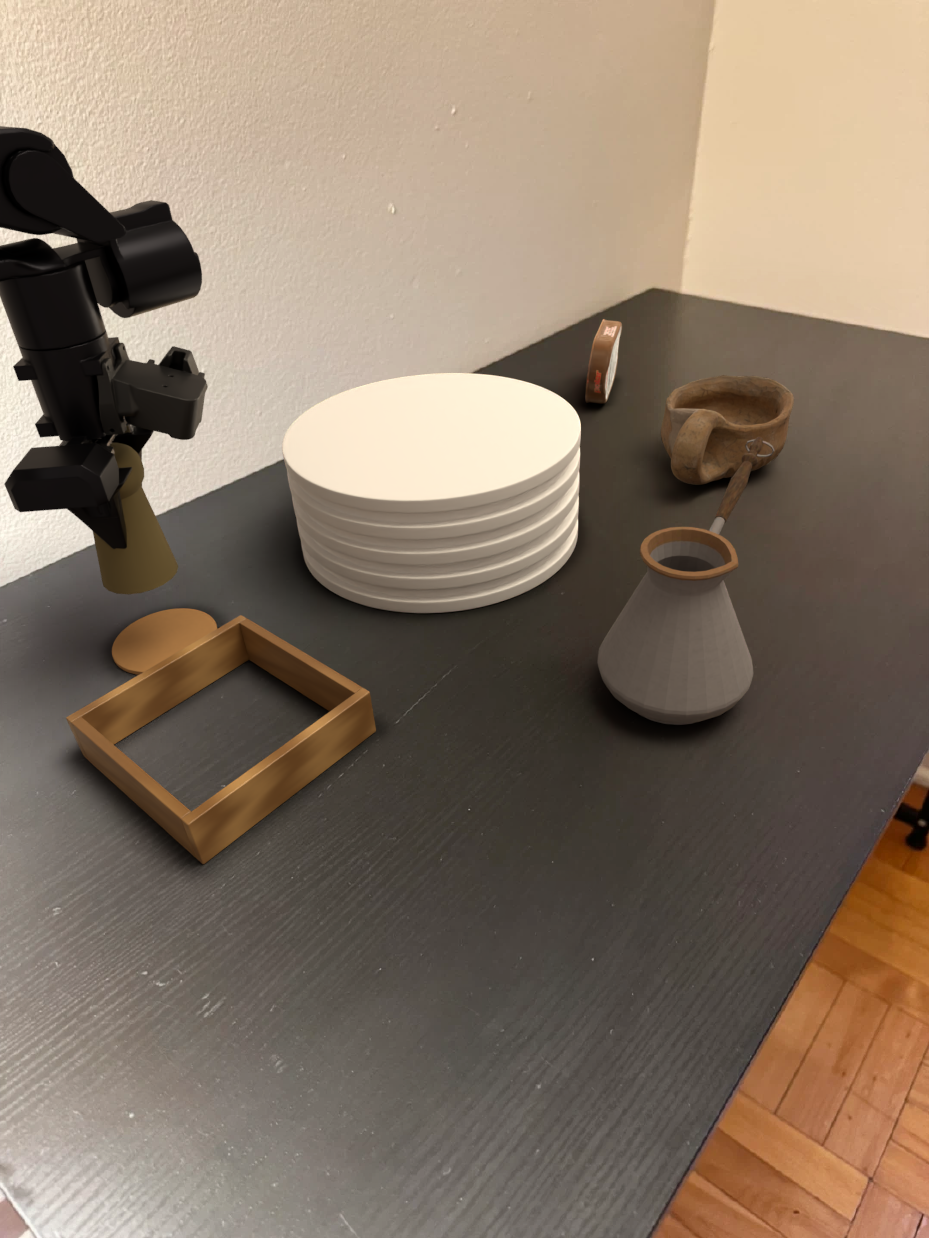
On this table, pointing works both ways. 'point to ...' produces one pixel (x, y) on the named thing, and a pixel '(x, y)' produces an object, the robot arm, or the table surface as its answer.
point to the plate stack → (435, 490)
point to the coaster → (159, 637)
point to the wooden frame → (264, 781)
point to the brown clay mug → (723, 425)
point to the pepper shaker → (135, 538)
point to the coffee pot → (682, 623)
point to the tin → (603, 362)
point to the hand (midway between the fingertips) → (128, 533)
